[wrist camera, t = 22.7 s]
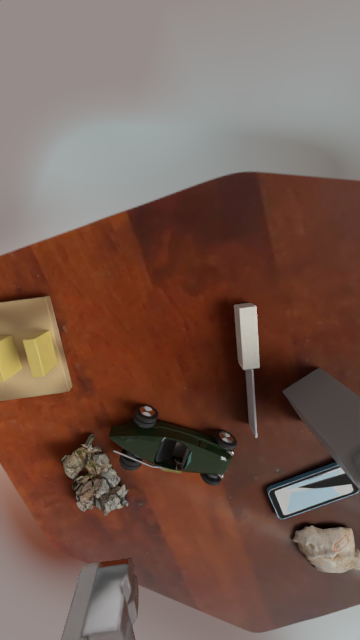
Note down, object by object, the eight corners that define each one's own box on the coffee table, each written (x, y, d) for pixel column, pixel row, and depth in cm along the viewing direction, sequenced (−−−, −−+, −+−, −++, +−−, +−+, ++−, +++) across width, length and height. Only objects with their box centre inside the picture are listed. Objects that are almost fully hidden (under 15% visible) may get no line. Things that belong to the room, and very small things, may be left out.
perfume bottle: (338, 398, 40) (468, 504, 23) (302, 421, 41) (401, 540, 23) (319, 367, 39) (442, 454, 21) (281, 391, 39) (371, 494, 22)
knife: (233, 304, 36) (239, 308, 33) (250, 302, 36) (257, 306, 33) (242, 425, 41) (248, 438, 37) (257, 423, 41) (264, 436, 38)
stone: (362, 555, 48) (373, 573, 46) (310, 576, 49) (319, 595, 46) (341, 507, 45) (352, 523, 43) (287, 530, 46) (294, 547, 43)
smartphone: (266, 490, 43) (351, 459, 42) (264, 485, 44) (347, 455, 43) (279, 521, 44) (361, 492, 43) (277, 515, 45) (357, 487, 44)
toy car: (220, 475, 43) (226, 502, 38) (105, 446, 40) (96, 471, 36) (239, 429, 41) (249, 451, 36) (120, 397, 38) (113, 416, 34)
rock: (118, 428, 40) (113, 446, 36) (133, 503, 43) (130, 526, 40) (65, 436, 40) (54, 454, 36) (84, 511, 43) (76, 534, 39)
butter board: (-45, 307, 34) (-54, 309, 33) (49, 295, 35) (44, 296, 33) (-14, 398, 38) (-21, 403, 36) (72, 386, 38) (68, 391, 36)
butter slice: (38, 331, 34) (22, 340, 30) (49, 330, 34) (34, 338, 30) (47, 365, 35) (32, 378, 31) (57, 363, 35) (44, 376, 31)
